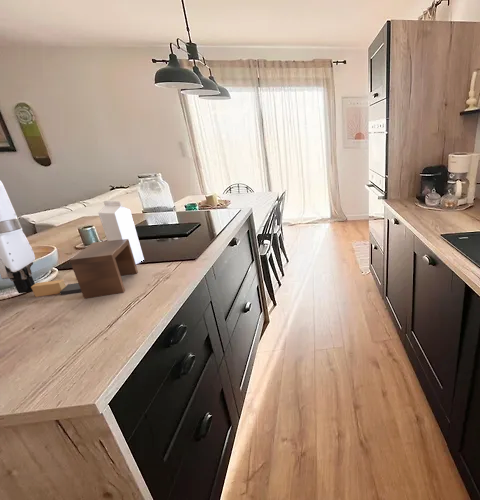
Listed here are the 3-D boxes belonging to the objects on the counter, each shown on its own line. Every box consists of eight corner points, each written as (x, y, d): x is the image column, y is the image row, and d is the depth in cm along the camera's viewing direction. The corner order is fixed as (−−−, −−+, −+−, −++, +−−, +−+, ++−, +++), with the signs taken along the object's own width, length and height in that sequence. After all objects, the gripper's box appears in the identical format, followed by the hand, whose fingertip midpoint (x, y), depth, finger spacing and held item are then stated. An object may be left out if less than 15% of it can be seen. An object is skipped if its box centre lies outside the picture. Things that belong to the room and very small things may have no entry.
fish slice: (32, 299, 78) (27, 288, 77) (42, 291, 82) (38, 281, 81) (87, 291, 82) (83, 281, 81) (94, 283, 86) (91, 274, 85)
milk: (130, 267, 98) (111, 203, 90) (115, 266, 99) (94, 203, 91) (144, 260, 103) (127, 199, 96) (129, 259, 104) (111, 199, 96)
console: (84, 298, 78) (69, 259, 74) (104, 276, 91) (92, 242, 87) (123, 292, 81) (111, 254, 77) (138, 271, 94) (128, 238, 90)
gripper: (-1, 221, 78) (26, 282, 84) (-47, 237, 65) (-10, 307, 71) (35, 219, 80) (59, 277, 87) (-2, 233, 67) (29, 301, 74)
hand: (28, 291), depth 79 cm, fingers closed
